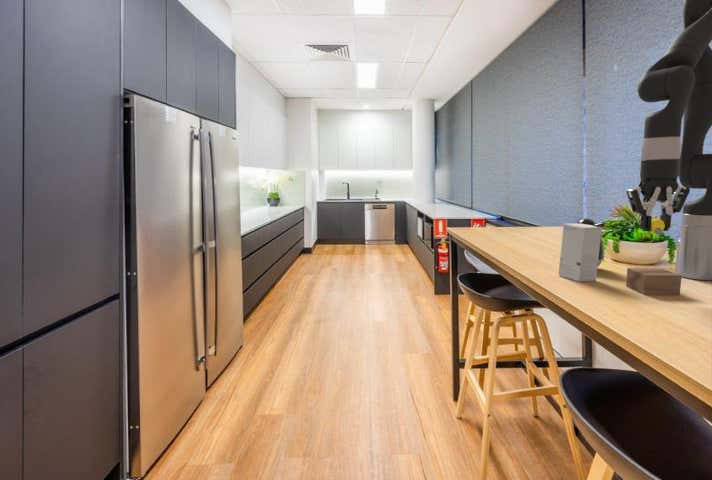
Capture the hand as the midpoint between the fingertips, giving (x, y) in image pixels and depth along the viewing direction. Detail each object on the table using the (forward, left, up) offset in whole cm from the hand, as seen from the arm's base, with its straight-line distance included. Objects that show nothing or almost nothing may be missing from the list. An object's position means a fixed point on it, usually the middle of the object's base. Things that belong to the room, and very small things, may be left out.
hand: (654, 230), depth 105 cm
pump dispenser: (-26, -3, -15) cm, 30 cm away
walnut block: (0, 0, -15) cm, 15 cm away
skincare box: (-13, -11, -15) cm, 23 cm away
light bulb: (+1, 0, -1) cm, 2 cm away
